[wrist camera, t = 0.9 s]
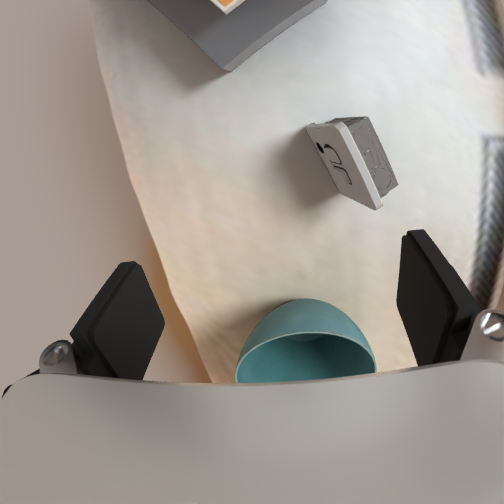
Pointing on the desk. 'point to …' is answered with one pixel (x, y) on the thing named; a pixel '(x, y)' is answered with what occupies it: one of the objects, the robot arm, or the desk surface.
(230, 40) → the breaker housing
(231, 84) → the desk surface
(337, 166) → the electrical switch
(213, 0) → the breaker rocker
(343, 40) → the desk surface
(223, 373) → the desk surface
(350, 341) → the plant pot
